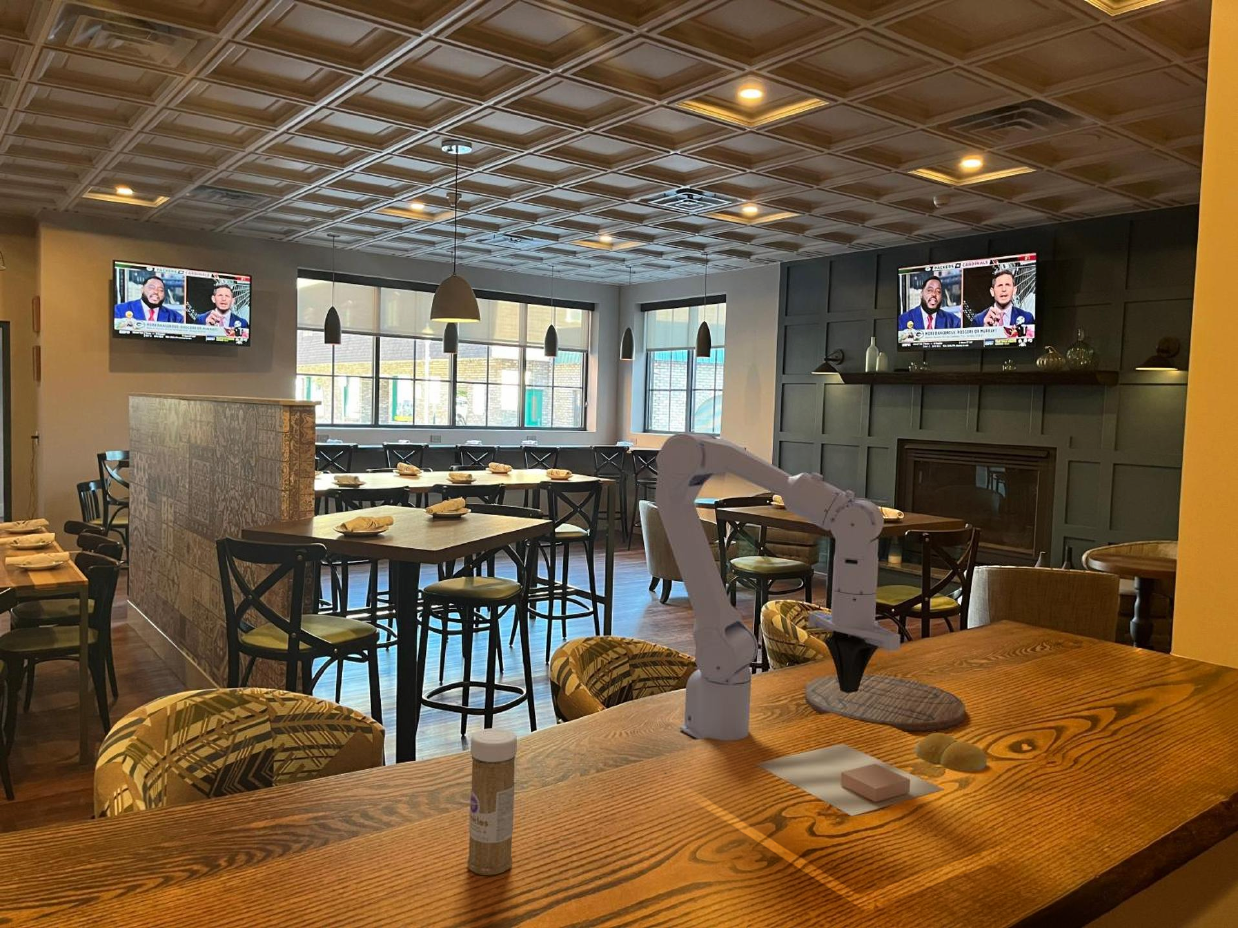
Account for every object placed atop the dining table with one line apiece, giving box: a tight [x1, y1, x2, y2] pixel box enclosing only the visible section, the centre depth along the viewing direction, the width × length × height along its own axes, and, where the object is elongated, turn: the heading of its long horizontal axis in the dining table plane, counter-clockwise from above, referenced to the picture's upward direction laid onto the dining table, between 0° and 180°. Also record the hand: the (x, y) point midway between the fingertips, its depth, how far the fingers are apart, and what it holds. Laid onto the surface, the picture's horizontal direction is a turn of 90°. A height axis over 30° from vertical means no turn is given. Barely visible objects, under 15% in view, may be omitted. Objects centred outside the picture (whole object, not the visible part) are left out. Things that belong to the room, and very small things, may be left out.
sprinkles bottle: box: [467, 727, 518, 876], centre depth 90 cm, size 5×5×13 cm
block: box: [841, 764, 910, 802], centre depth 110 cm, size 2×6×6 cm
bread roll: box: [913, 732, 988, 772], centre depth 122 cm, size 8×9×4 cm
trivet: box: [804, 673, 966, 733], centre depth 146 cm, size 25×25×2 cm
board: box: [754, 743, 945, 817], centre depth 114 cm, size 17×16×1 cm
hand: (849, 690), depth 120 cm, fingers closed
